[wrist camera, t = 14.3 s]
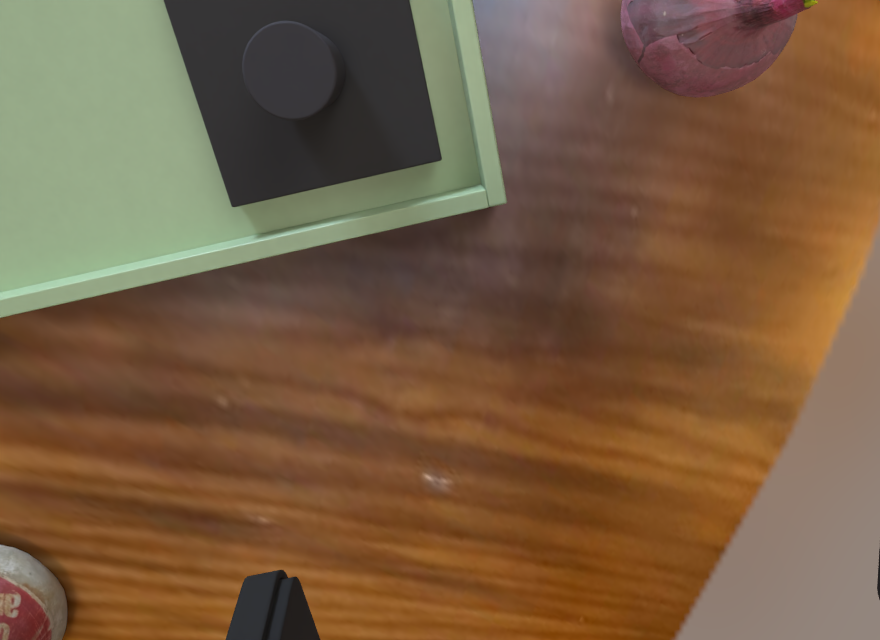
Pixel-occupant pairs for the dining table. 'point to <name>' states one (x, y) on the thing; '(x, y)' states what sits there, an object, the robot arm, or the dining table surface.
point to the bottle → (29, 599)
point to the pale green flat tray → (188, 156)
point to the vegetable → (707, 40)
